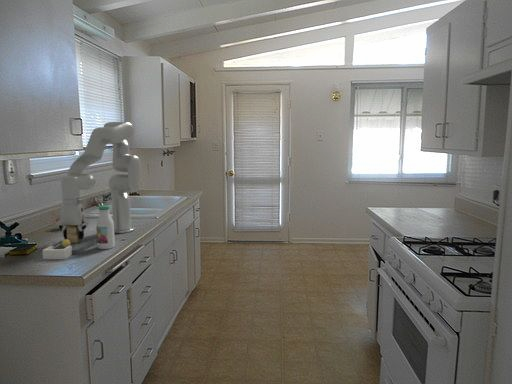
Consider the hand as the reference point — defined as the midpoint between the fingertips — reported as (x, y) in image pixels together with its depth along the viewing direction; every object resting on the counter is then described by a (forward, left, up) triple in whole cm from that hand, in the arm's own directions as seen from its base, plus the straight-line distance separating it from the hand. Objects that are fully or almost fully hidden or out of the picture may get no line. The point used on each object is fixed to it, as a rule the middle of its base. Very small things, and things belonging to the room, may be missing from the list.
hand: (73, 238), depth 187 cm
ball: (+8, 0, 0) cm, 8 cm away
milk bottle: (+2, +16, -4) cm, 17 cm away
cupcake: (-37, -22, -4) cm, 43 cm away
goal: (+16, 0, -4) cm, 16 cm away
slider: (0, 0, -2) cm, 2 cm away
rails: (+9, 0, -2) cm, 9 cm away
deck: (+5, 0, -4) cm, 6 cm away
